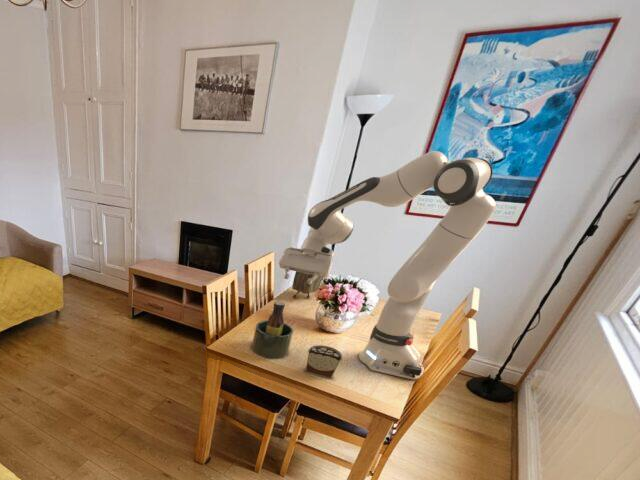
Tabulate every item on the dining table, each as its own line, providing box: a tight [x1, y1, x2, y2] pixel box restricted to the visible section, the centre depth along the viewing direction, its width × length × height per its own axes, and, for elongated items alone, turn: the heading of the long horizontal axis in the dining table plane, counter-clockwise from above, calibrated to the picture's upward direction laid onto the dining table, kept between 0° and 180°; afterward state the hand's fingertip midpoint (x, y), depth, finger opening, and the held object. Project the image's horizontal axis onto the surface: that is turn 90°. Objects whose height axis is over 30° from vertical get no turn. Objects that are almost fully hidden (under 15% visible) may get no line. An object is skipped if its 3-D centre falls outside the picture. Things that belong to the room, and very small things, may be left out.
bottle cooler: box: [251, 319, 294, 359], centre depth 164 cm, size 15×15×10 cm
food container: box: [304, 344, 343, 380], centre depth 150 cm, size 12×6×10 cm, turn 59°
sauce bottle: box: [265, 301, 286, 336], centre depth 160 cm, size 7×6×20 cm
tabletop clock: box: [292, 271, 325, 299], centre depth 204 cm, size 14×9×25 cm, turn 126°
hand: (297, 280), depth 161 cm, fingers open, 8 cm apart
